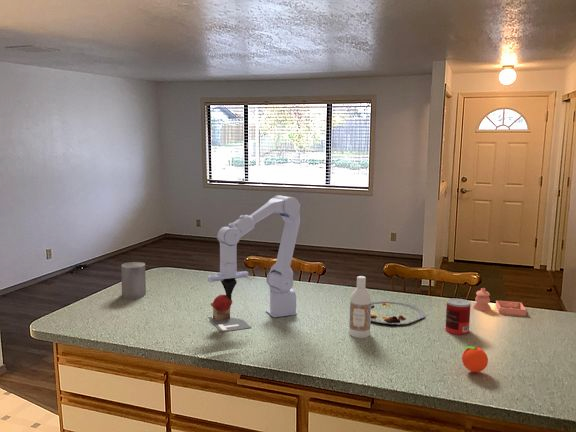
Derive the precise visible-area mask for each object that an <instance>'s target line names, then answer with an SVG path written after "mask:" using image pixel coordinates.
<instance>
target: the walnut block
mask: <svg viewBox="0 0 576 432" xmlns="http://www.w3.org/2000/svg"><path fill="white" fill-rule="evenodd" d="M212 315H213V317H214V318H215V319H216V320H224V319H230V318H231V307H230V308H229V309H228V310H227V311H224V312H219V311H217V310H216V309H215V308H214V307H212Z"/></svg>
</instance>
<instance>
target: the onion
mask: <svg viewBox="0 0 576 432" xmlns="http://www.w3.org/2000/svg"><path fill="white" fill-rule="evenodd" d="M232 304H233V300H232V299H231V300H230V299H229V298H228V296H226V294H219V295H218V296H216V297H215V298H214V300H213V302H211V303H210V307H212V308H213V307H214V308H215V309H216V310H217V311H219V312H224V311H227V310H228V309H229V308H230V309H231V307H232Z"/></svg>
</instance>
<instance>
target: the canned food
mask: <svg viewBox="0 0 576 432" xmlns="http://www.w3.org/2000/svg"><path fill="white" fill-rule="evenodd" d="M445 311H446V312H445V313H446V314H445V331H446V332H447V333H448V334H452V335H456V336H464V335H467V334H468V333H470V321H471V320H470V318H471V317H470V316H471V301H469V300H467V299H465V298H464V299H463V298H457V297H456V298H449V299H447V300H446V310H445Z"/></svg>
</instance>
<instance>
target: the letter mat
mask: <svg viewBox="0 0 576 432" xmlns="http://www.w3.org/2000/svg"><path fill="white" fill-rule="evenodd" d="M207 318H208V319H209V321H210V320H211V321H210V322H211V323H212V325H214V326H215V327H216V329H217V330H218V331H219V332H220V333H226V332H232V331H233V332H235V331H239V330H245V329H246V330H247V329H252V327H251V326H250V325H249V323H247V322H246V321H245V319H243V318H237V317H236V318H235V317H230V319H224V320H216V319H215V318H214V317H213V318H212V317H207ZM241 319H242V320H241Z"/></svg>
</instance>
